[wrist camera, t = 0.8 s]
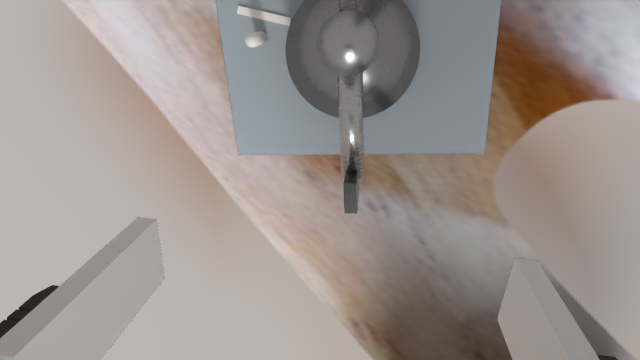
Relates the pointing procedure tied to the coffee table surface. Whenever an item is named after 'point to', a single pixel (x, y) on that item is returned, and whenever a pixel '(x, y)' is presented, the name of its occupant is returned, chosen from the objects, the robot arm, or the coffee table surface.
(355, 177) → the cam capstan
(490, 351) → the coffee table surface
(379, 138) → the stand
